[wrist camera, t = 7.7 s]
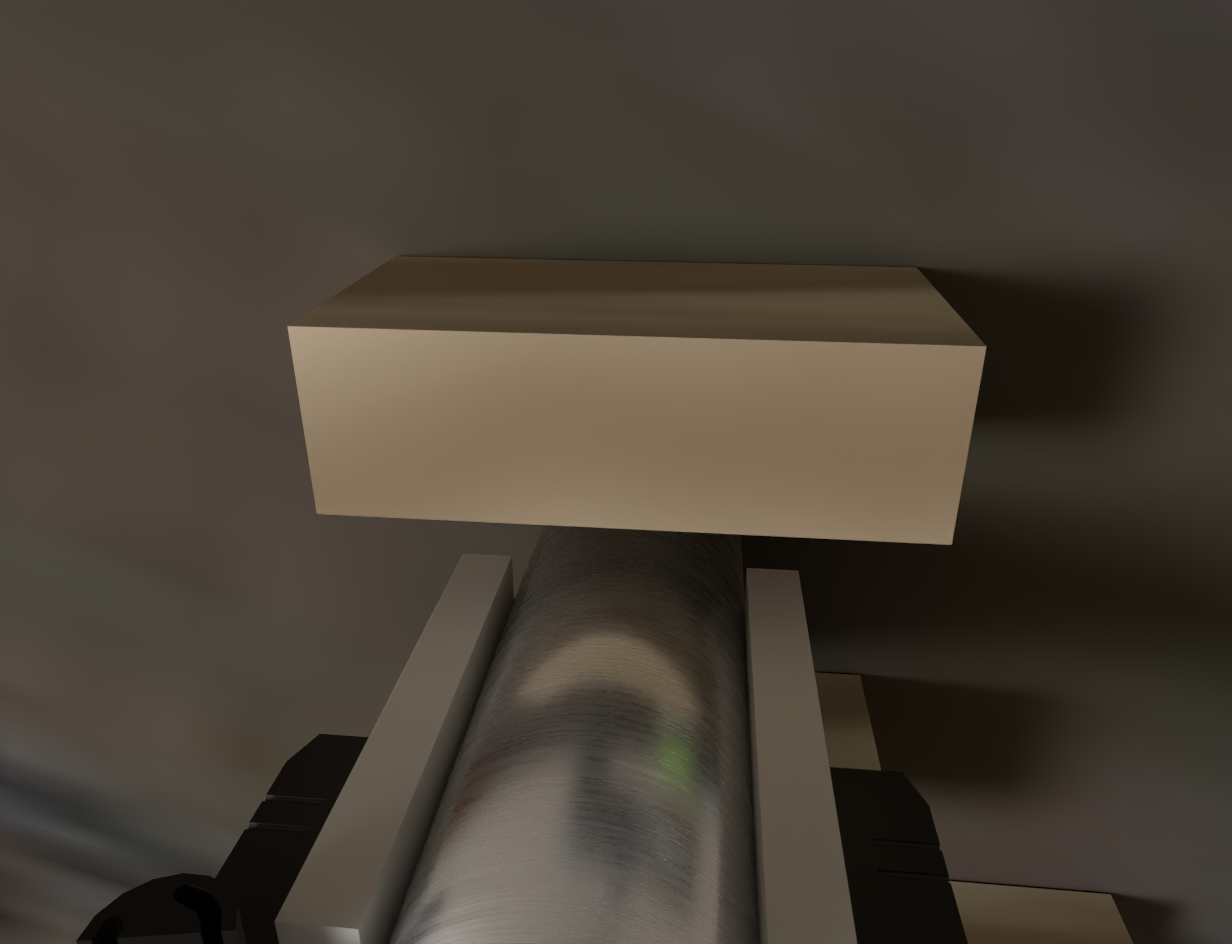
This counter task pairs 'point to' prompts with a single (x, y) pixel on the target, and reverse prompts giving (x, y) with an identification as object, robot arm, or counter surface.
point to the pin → (603, 757)
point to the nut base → (1037, 916)
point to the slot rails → (647, 405)
